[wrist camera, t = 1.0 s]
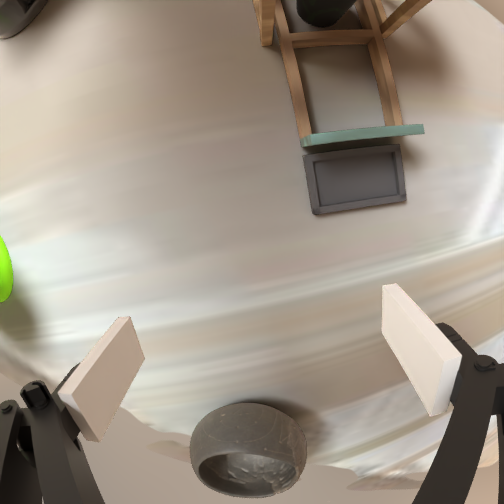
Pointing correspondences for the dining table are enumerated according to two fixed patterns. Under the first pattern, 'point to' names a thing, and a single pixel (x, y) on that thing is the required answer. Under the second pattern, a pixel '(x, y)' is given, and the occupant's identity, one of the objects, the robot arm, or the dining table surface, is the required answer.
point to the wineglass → (5, 272)
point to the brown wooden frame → (266, 3)
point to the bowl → (248, 450)
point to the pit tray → (354, 178)
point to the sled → (380, 64)
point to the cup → (322, 11)
